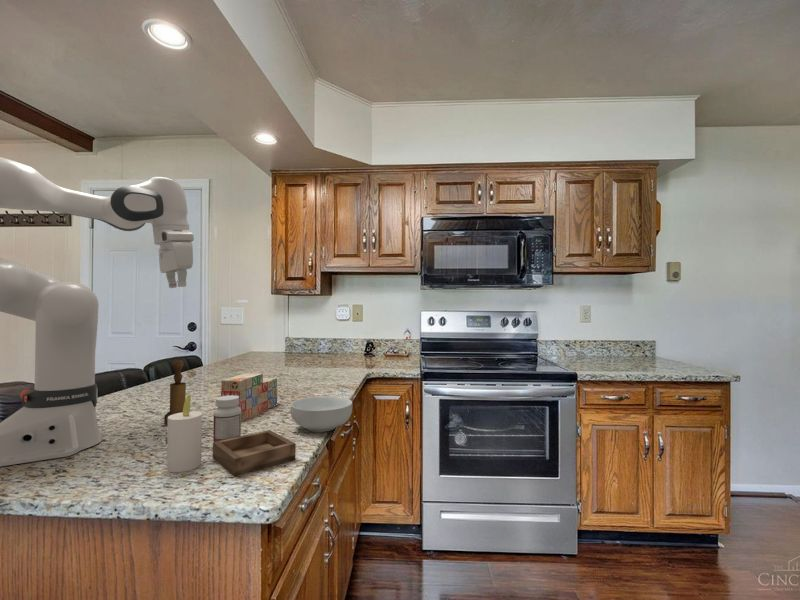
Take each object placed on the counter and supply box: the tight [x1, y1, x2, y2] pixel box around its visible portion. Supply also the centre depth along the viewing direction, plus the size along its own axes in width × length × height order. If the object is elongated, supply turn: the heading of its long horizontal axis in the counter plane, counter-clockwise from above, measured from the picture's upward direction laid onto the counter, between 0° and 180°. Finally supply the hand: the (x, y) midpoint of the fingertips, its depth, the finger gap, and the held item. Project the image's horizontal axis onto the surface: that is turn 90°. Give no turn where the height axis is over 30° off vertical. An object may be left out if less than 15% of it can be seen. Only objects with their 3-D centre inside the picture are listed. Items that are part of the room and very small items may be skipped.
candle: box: [165, 393, 203, 473], centre depth 83 cm, size 6×6×15 cm
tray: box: [212, 429, 297, 478], centre depth 87 cm, size 13×13×4 cm
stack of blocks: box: [220, 372, 278, 422], centre depth 125 cm, size 21×6×12 cm, turn 168°
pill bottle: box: [212, 395, 242, 443], centre depth 96 cm, size 6×6×11 cm
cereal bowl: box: [290, 395, 353, 433], centre depth 109 cm, size 17×17×7 cm
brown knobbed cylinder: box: [163, 359, 187, 426], centre depth 115 cm, size 7×6×18 cm
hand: (177, 287), depth 111 cm, fingers open, 8 cm apart
